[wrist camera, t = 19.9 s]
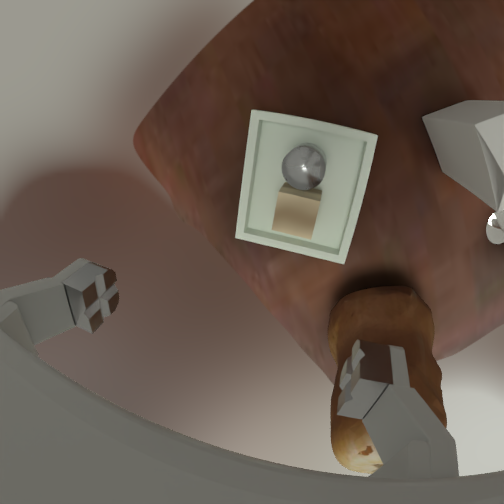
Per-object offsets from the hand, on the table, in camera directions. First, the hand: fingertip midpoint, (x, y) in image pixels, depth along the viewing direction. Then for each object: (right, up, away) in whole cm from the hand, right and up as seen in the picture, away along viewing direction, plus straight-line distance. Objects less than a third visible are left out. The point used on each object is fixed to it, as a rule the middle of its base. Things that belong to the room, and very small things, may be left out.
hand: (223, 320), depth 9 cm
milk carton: (+25, +16, +19) cm, 35 cm away
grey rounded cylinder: (+7, +13, +24) cm, 28 cm away
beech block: (+7, +8, +27) cm, 29 cm away
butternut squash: (+19, -5, +31) cm, 37 cm away
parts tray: (+7, +10, +26) cm, 29 cm away
